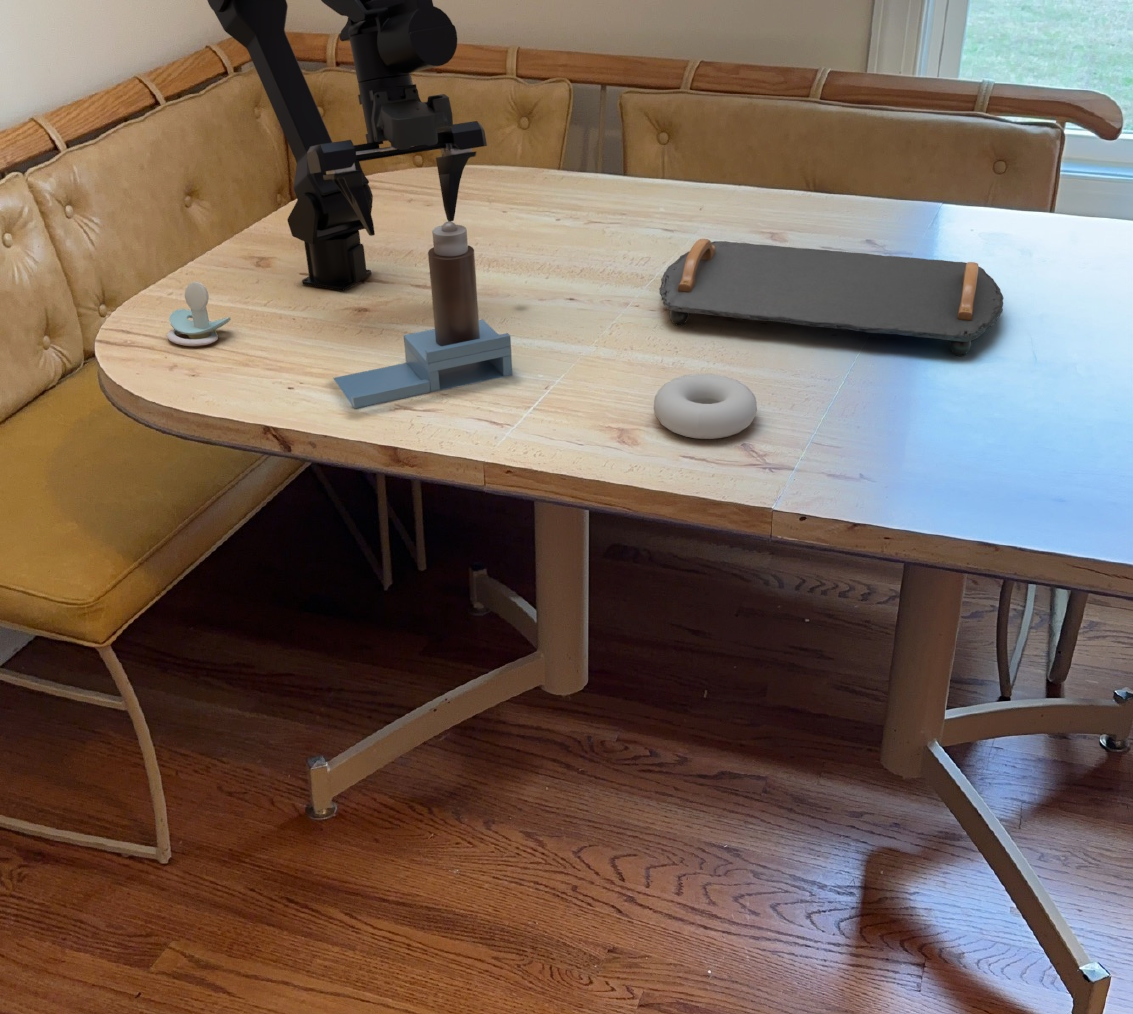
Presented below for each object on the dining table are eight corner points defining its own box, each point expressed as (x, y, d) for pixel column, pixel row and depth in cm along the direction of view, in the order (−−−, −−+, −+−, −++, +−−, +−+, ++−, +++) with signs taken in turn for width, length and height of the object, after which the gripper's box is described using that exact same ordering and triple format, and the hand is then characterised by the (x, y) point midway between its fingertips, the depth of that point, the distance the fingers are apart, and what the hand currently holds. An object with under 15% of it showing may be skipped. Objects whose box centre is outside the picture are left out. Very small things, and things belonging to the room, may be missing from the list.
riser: (333, 384, 126) (327, 338, 124) (484, 352, 132) (482, 308, 130) (355, 415, 120) (349, 368, 118) (513, 381, 126) (510, 335, 123)
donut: (743, 396, 122) (646, 400, 122) (746, 365, 120) (647, 369, 120) (766, 443, 114) (661, 448, 113) (769, 410, 112) (662, 415, 111)
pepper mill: (427, 344, 125) (416, 226, 118) (449, 328, 128) (439, 212, 122) (466, 351, 123) (458, 231, 117) (487, 334, 127) (480, 217, 120)
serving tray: (1001, 288, 145) (1010, 237, 142) (996, 367, 126) (1006, 312, 123) (686, 258, 156) (688, 211, 152) (639, 328, 137) (639, 276, 134)
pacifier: (206, 353, 134) (240, 332, 139) (195, 301, 131) (229, 280, 135) (155, 343, 137) (190, 322, 141) (142, 292, 133) (178, 272, 138)
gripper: (316, 83, 118) (348, 244, 123) (492, 60, 125) (516, 214, 129) (292, 93, 128) (323, 242, 132) (456, 71, 134) (480, 214, 139)
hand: (411, 228), depth 133 cm, fingers open, 9 cm apart
